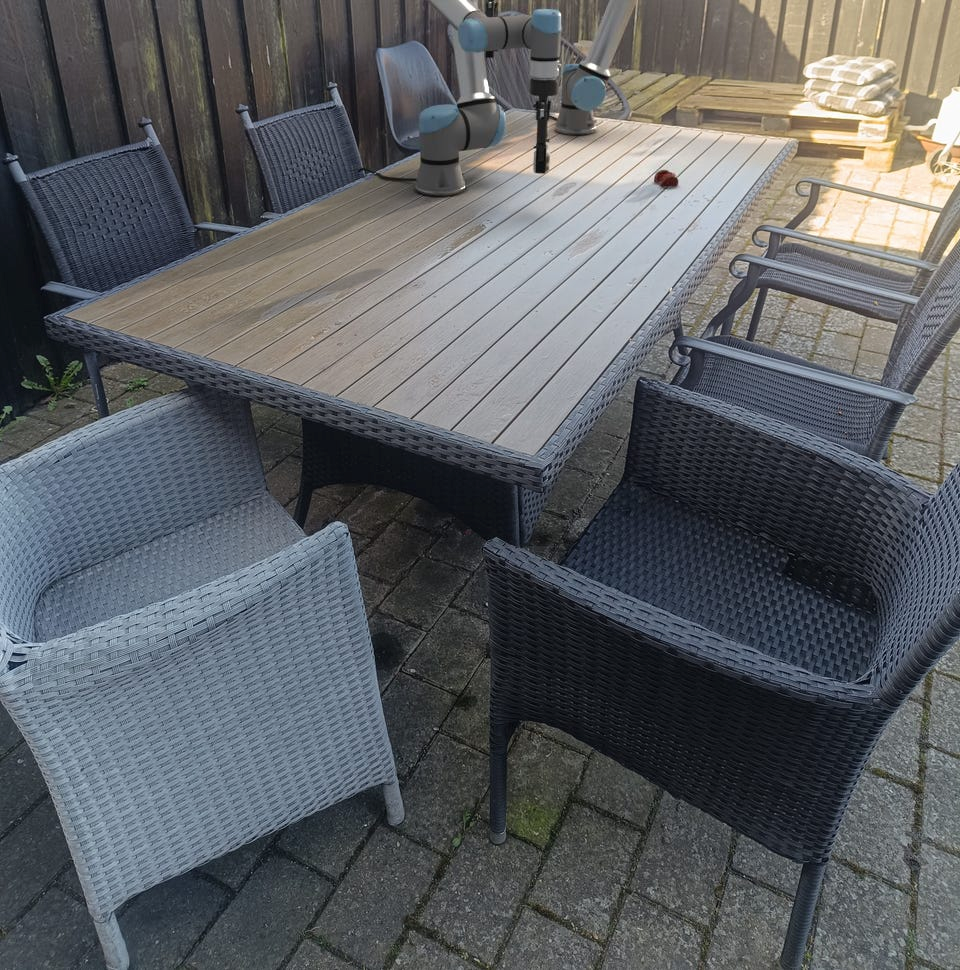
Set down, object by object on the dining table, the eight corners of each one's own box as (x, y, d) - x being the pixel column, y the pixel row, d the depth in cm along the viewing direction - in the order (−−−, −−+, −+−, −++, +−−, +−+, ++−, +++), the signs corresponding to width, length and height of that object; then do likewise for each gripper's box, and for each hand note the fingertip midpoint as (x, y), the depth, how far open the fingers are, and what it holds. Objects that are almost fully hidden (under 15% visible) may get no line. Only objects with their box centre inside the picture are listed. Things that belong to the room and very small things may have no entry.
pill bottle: (549, 174, 231) (550, 144, 226) (533, 174, 231) (534, 144, 227) (548, 169, 234) (550, 140, 230) (533, 169, 235) (533, 140, 230)
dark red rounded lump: (669, 166, 264) (680, 173, 258) (668, 179, 266) (679, 187, 260) (653, 168, 263) (663, 175, 257) (652, 181, 265) (662, 189, 259)
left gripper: (557, 84, 211) (553, 179, 225) (559, 72, 226) (555, 162, 239) (527, 83, 212) (525, 178, 226) (531, 71, 226) (529, 161, 240)
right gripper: (499, -14, 266) (498, 60, 279) (507, -21, 286) (506, 48, 299) (476, -14, 267) (476, 60, 279) (485, -21, 287) (485, 48, 300)
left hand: (540, 170), depth 232 cm, fingers closed on pill bottle, 4 cm apart
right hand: (491, 54), depth 289 cm, fingers open, 13 cm apart
